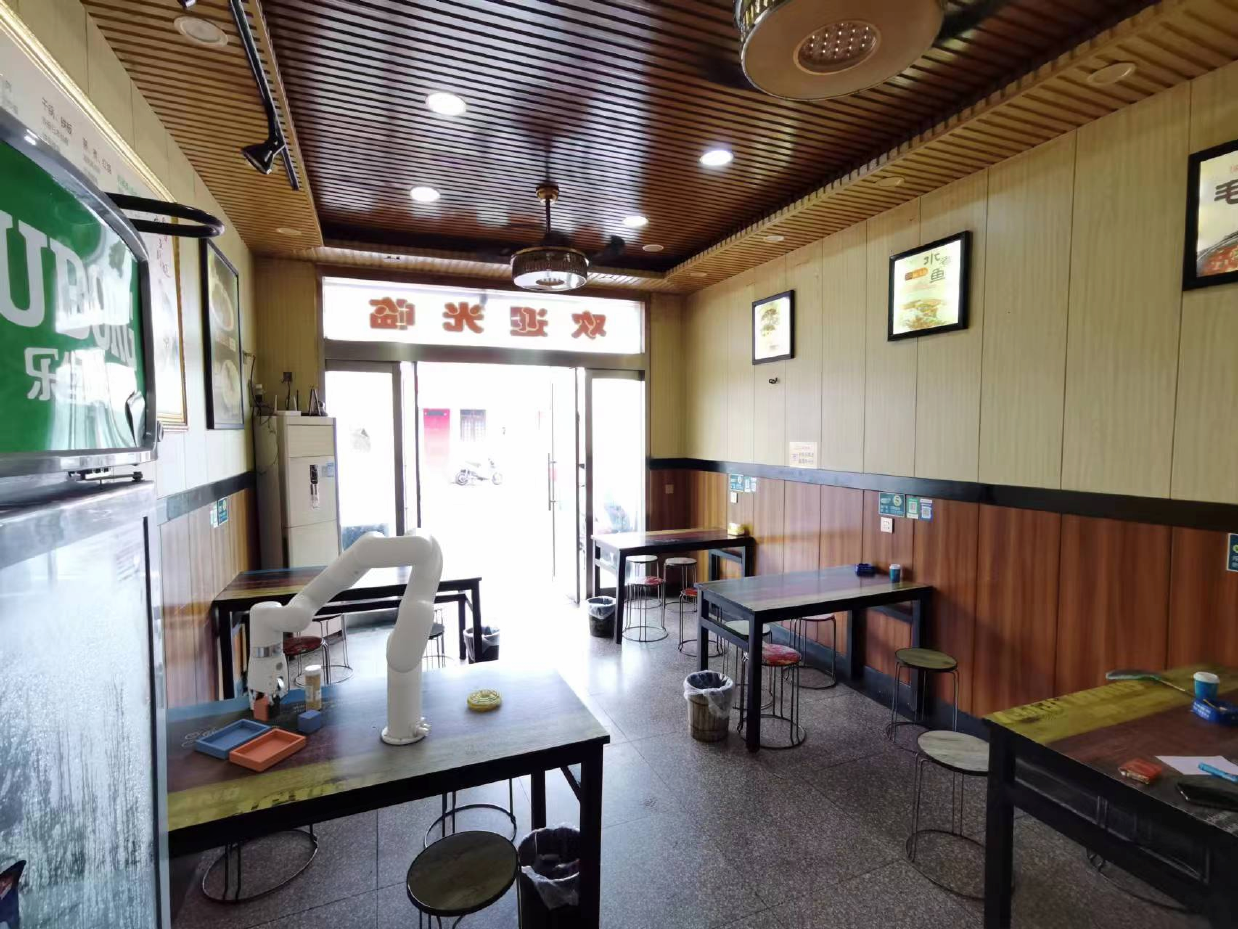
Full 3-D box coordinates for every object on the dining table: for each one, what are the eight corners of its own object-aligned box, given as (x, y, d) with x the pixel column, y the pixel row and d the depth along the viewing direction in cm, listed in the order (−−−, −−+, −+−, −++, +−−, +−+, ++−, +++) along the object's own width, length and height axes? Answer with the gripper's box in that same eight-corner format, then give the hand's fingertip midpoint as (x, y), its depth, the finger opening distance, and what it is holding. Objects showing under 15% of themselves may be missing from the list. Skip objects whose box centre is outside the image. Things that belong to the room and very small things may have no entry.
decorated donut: (506, 708, 190) (507, 696, 189) (474, 716, 184) (474, 705, 183) (494, 695, 198) (494, 684, 198) (462, 703, 192) (463, 691, 192)
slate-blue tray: (271, 735, 170) (271, 726, 170) (224, 759, 158) (224, 750, 157) (243, 726, 174) (243, 718, 174) (195, 749, 162) (195, 741, 162)
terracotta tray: (305, 745, 165) (305, 737, 165) (260, 771, 153) (260, 762, 152) (276, 736, 169) (276, 728, 169) (229, 761, 157) (229, 752, 157)
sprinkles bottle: (323, 709, 186) (323, 667, 185) (307, 714, 183) (307, 671, 182) (318, 704, 189) (318, 663, 188) (303, 708, 186) (302, 666, 185)
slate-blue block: (321, 726, 176) (321, 712, 175) (309, 733, 172) (309, 718, 171) (311, 723, 177) (310, 709, 177) (298, 730, 173) (297, 715, 173)
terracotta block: (280, 714, 161) (280, 698, 161) (265, 721, 157) (265, 705, 157) (268, 710, 163) (268, 695, 163) (253, 717, 159) (253, 701, 159)
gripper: (301, 649, 159) (302, 715, 161) (257, 639, 166) (258, 703, 167) (276, 659, 152) (276, 728, 154) (231, 648, 159) (232, 714, 160)
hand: (267, 714), depth 160 cm, fingers closed on terracotta block, 4 cm apart
